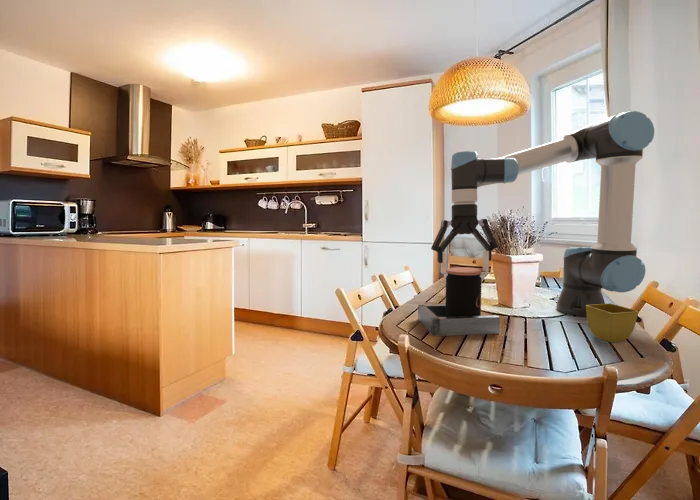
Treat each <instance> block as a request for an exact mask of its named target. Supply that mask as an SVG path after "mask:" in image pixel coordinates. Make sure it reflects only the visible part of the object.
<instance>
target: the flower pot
mask: <svg viewBox="0 0 700 500" xmlns="http://www.w3.org/2000/svg"><path fill="white" fill-rule="evenodd" d="M586 314H587V316H586V321H587V322H586V323H587V326H588V328H589V330H590V332H591V333H592V336H594V337H595V338H597V339H600V340H603V341H605V342H608V343H616V342H617V343H618V342H619V343H620V342H625V341H626V340H627V339H628V338H630V336H631V335H632V333H633V332H634V329H635V327H636V323H637V319H638V316H639V310H635V309H632V308H628V307H625V306H621V305H618V304H614V303H605V304H594V305H586Z"/></svg>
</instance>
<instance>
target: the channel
mask: <svg viewBox="0 0 700 500" xmlns="http://www.w3.org/2000/svg"><path fill="white" fill-rule="evenodd" d="M445 309H446V303H439V304H438V303H436V304H434V303H433V304H431V303H430V304H418V305H417V320H418V321H419V322H420V323H421V325H422V326H423V325H424V326H423V327H424V328H425V329H426V330H427V331H428V332H429V333H430V334H431V336H432V337H441V336H442V337H446V336H470V335H475V336H477V335H496V334H498V335H499V334H500V331H501V329H500V327H501V325H500V324H501V317H500V316H499V315H494V314H493V315H481V316H459V317H445Z"/></svg>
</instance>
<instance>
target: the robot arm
mask: <svg viewBox="0 0 700 500" xmlns="http://www.w3.org/2000/svg"><path fill="white" fill-rule="evenodd" d="M654 137H655V126H654V123H653V122H652V120H651V118H649V117H648V116H647V115H646V114H644V113H643V112H641V111H636V110H628V111H626V112H619V113H617V114H614V115H612V116H610V117H607V118H604V119H601V120H599V121H595V122H592V123H590V124H588V125H586V126H584V127H582V128H580V129H578V130H575V131H573V132H570V133H567V134H564V135H562V136H561V137H560V139H557V140H554V141H551V142H547V143H544V144H542V145H541V144H540V145H538V146H534V147H530V148H528V149H524V150H521V151H517V152H514V153H511V154H507V155H504V156H500V157H495V158H494V157H493V158H490V157H489V158H480V157H479V156H478V153H477V151H474V150H473V151H471V150H464V151H458V152H455V153H453V155H452V156H451V164H450V170H451V203H452V205H451V220H445V219H443V220H441V221H440V222H441V223H440V228H439V230H438V233H437V234H436V237H435V239H434V242H433V244H432V245H431V248H430V249H431V251H434V252H436V253H437V256H436V257H437V263H439V264H440V273H441V274H443V275H445V274H446V273H447V272H446V269H447V267H446V264H447V263H446V262H447V261H446V260H447V259H446V258H447V257H446V252H444V251H445V250H446V249H447V247H448V246H450V243H451V242H452V241H454V239H455V237H457V236H458V235H465V234H466V235H473V237H474V238H475V239H476V240H477V242H479V244H480V245H481V246H482V247H483V249H484V250H483V249H482V271H483V272H484V273H489V271H490V264H489V263H490V261H492V252H493V251H494V249H498V247H499V246H498V243H497V241H496V239H495V237H494V235H493V232H492V231H491V228H490V227H489V221H488V219H487V218H481V219H478V205H477V204H476V203H477V202H478V188H481V187H483V186H491V185H494V184H507V183H508V184H510V183H513V182H515V181H516V180H517V178H518V177H519V176H520V175H524V174H527V173H530V172H533V171H537V170H541V169H543V168H547V167H549V166H550V167H551V166H553V165H558V164H560V163H564V162H565V163H568V164H571V163H574V162H579V161H583V160H592V159H595V163H597V164H598V165H599V166H600V182H599V183H600V186H599V203H598V205H599V206H598V222H597V223H598V225H597V240H596V241H597V242H596V243H595V244H593V245H592V246H583V247H581V246H579V247H577V246H575V247H568V248H566V249H565V250H564V254H563V255H564V256H563V274H562V275H563V276H562V289H561V292H560V294H559V295H558V299H557V301H556V310H557V311H559V312H561V313H565V314H567V315H573V316H581V317H587V314H586V305H594V304H606V303H605V298H604V295H603V292H602V289H604V290H606V291H609V292H614V293H615V292H616V293H627V292H631V291H634V290H635V289H636V288H637V287H638V286H640V284H641V283H642V282H643V280H644V279H645V276H646V272H647V271H646V270H647V269H646V266H645V263H644V262H642V259H640V258H639V257H637V250H638V249H637V247H636V246H635V245H634V244H632V231H633V230H632V228H633V217H634V216H633V215H634V199H635V198H634V197H635V181H636V165H637V164H638V162H639V161H641V160H642V159H643V155H644V154H643V153H644V149H646V148H647V147H648V146H649V145H650V143H652V142H653V139H654ZM478 225H479V226H480V227H481V230H482V232H483V234H484V236H485V237H486V239H485V237H484V236H483V235H482V233H480V231H479V230H478V229H477V227H478ZM450 226H451V227H452V229H451V230H450V232H449V234H448V235H447V236H446V237H445V239H444V240H443V238H444V236H445V234H446V232H447V230H448V228H450ZM442 240H443V241H442Z"/></svg>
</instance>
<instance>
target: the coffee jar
mask: <svg viewBox="0 0 700 500" xmlns="http://www.w3.org/2000/svg"><path fill="white" fill-rule="evenodd" d="M482 271H483V269H480V268H478V267H477V268H475V267H468V266H465V267H464V266H463V267H462V266H457V267H456V266H455V267H452V266H451V267H446V273H447V275H446V277H445V304H446V309H445V317H459V316H482V314H481V313H482V276H481V274H482Z"/></svg>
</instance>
